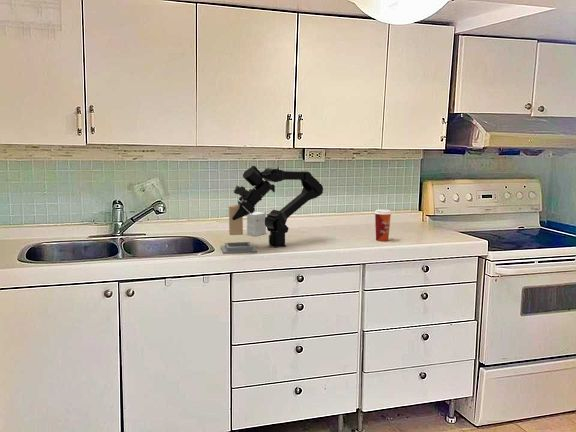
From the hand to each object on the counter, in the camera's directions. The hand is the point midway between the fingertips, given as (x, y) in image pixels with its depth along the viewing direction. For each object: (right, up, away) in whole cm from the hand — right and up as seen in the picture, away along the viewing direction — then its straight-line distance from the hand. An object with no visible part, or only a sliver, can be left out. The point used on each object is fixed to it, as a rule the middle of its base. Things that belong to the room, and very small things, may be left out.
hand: (232, 218), depth 240 cm
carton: (+1, -7, +1) cm, 7 cm away
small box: (+8, -8, +35) cm, 37 cm away
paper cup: (+67, -10, +22) cm, 72 cm away
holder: (+3, -13, -1) cm, 14 cm away
